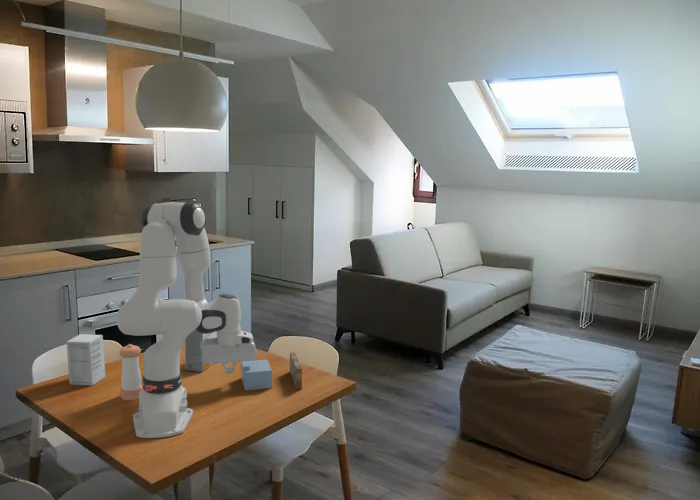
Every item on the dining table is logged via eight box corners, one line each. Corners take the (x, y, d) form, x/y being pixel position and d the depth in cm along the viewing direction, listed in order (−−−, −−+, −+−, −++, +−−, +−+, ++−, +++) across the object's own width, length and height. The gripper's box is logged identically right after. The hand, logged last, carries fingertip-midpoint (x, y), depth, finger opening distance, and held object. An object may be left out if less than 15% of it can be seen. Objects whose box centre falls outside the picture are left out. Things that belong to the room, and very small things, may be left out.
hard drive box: (202, 372, 223) (201, 324, 220) (185, 370, 225) (183, 322, 221) (219, 359, 238) (218, 313, 235) (202, 357, 240) (201, 312, 236)
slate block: (271, 388, 210) (271, 370, 209) (244, 390, 207) (244, 372, 206) (267, 376, 221) (267, 359, 220) (241, 378, 218) (241, 361, 217)
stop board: (301, 388, 209) (301, 368, 208) (296, 389, 209) (296, 368, 207) (294, 371, 226) (294, 352, 225) (289, 371, 226) (289, 352, 225)
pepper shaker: (122, 402, 195) (120, 349, 192) (119, 394, 201) (117, 343, 198) (144, 398, 198) (142, 346, 195) (140, 390, 205) (138, 340, 202)
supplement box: (106, 376, 217) (104, 334, 214) (93, 386, 208) (90, 342, 205) (82, 375, 218) (80, 333, 215) (68, 384, 209) (65, 341, 206)
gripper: (199, 341, 203) (200, 378, 206) (257, 338, 208) (257, 374, 210) (200, 336, 209) (200, 371, 212) (255, 333, 214) (255, 367, 217)
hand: (229, 372), depth 211 cm, fingers closed
